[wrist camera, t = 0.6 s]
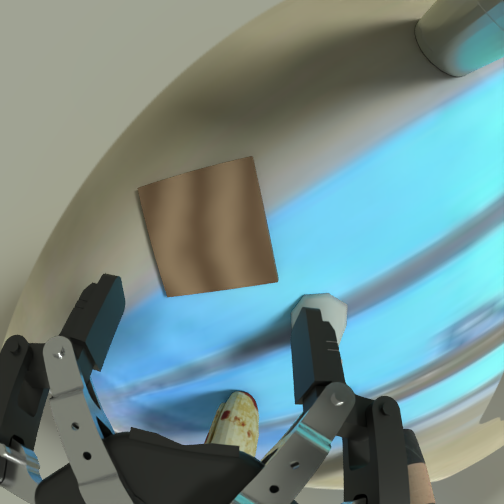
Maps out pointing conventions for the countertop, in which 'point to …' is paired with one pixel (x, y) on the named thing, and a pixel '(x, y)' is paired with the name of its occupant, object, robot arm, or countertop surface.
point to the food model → (236, 423)
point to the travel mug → (417, 472)
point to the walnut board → (209, 229)
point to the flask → (325, 311)
